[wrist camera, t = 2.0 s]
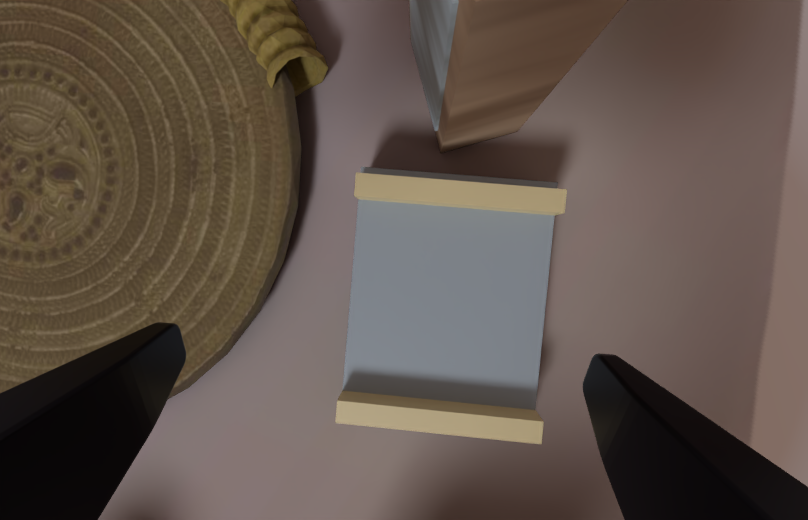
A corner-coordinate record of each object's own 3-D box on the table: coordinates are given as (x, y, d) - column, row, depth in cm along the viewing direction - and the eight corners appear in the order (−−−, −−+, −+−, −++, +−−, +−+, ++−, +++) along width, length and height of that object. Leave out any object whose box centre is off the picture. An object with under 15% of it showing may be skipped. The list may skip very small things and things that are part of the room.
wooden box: (520, 130, 19) (684, -60, 7) (437, 153, 20) (467, 4, 8) (489, 14, 19) (607, -369, 7) (407, 39, 20) (389, -296, 8)
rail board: (520, 422, 20) (540, 455, 17) (347, 404, 20) (334, 434, 17) (543, 189, 19) (568, 177, 16) (367, 175, 20) (356, 160, 17)
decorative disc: (-367, 81, 19) (72, -336, 17) (-250, 104, 23) (132, -240, 20) (-51, 548, 20) (441, 213, 17) (20, 503, 23) (440, 218, 20)
